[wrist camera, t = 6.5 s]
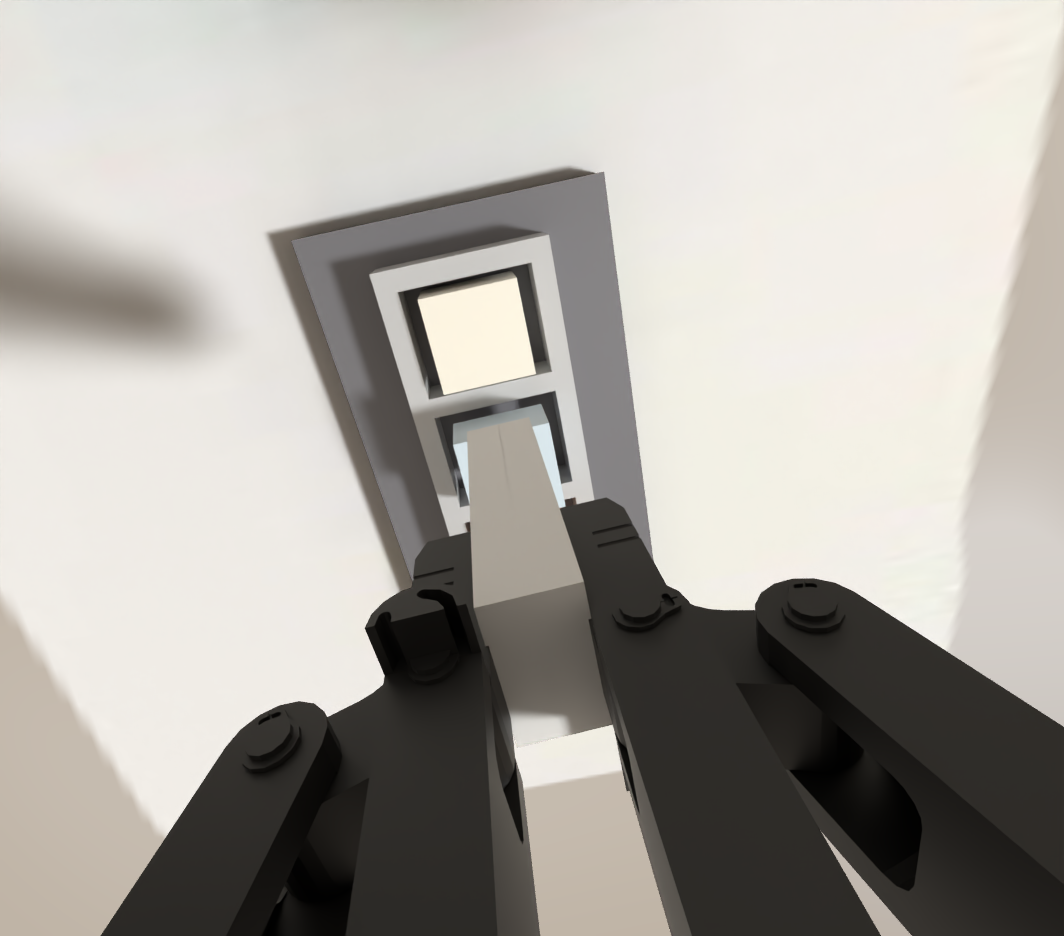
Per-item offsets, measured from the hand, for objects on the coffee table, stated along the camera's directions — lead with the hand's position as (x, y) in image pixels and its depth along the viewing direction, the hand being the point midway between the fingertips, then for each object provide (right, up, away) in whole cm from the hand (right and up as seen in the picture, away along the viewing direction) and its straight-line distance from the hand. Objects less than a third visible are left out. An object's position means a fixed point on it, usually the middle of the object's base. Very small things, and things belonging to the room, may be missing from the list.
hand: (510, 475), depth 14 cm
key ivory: (-2, +6, +9) cm, 11 cm away
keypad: (0, 0, +14) cm, 14 cm away
